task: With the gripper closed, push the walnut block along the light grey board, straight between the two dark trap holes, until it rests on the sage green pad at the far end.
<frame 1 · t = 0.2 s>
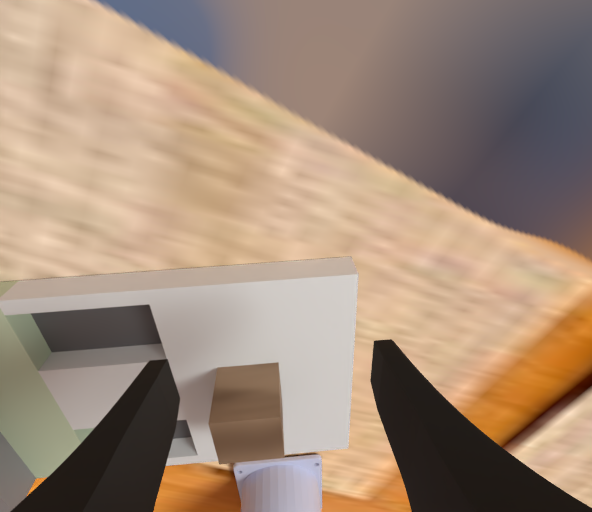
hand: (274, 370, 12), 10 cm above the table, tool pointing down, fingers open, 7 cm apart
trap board: (169, 370, 25), on the table
walnut block: (251, 385, 24), point 2 cm above the table, touching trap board
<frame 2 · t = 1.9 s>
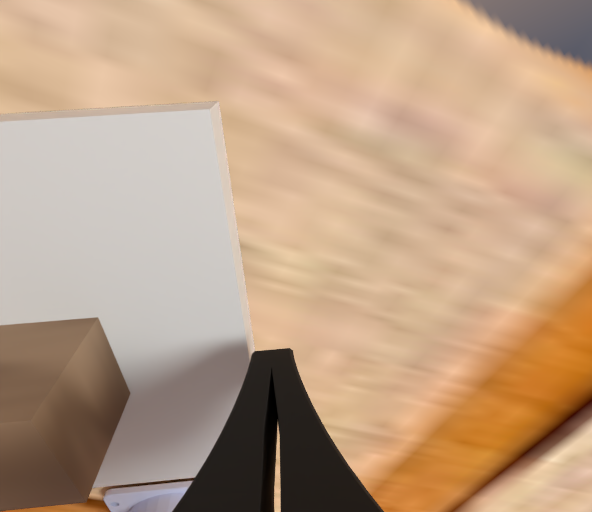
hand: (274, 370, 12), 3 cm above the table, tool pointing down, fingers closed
walnut block: (61, 362, 13), point 2 cm above the table, touching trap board
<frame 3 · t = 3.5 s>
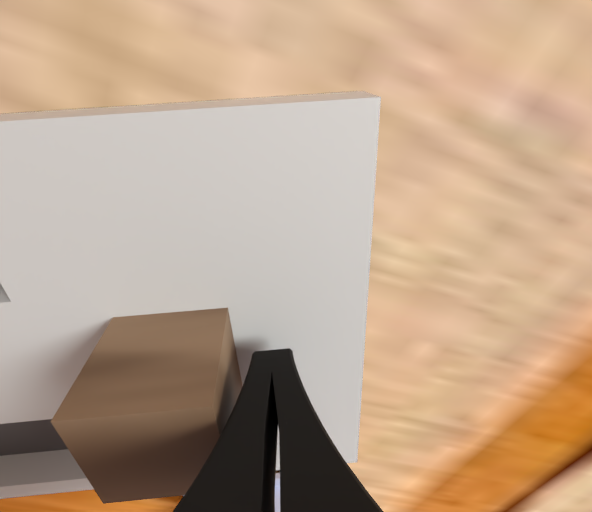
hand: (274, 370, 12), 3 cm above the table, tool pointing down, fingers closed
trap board: (49, 331, 15), on the table
walnut block: (182, 353, 13), point 2 cm above the table, touching gripper, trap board
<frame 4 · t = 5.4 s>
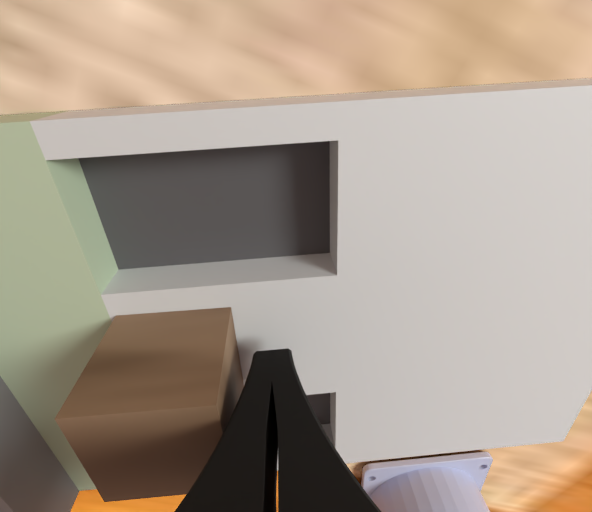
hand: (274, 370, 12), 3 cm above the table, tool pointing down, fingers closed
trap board: (305, 309, 15), on the table
walnut block: (185, 352, 13), point 2 cm above the table, touching gripper
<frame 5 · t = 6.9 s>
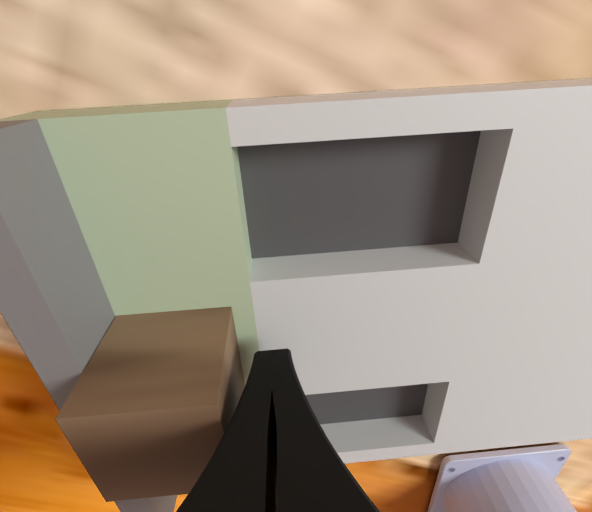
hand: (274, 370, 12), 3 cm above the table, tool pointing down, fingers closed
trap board: (418, 300, 15), on the table
walnut block: (185, 352, 13), point 2 cm above the table, touching gripper, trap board
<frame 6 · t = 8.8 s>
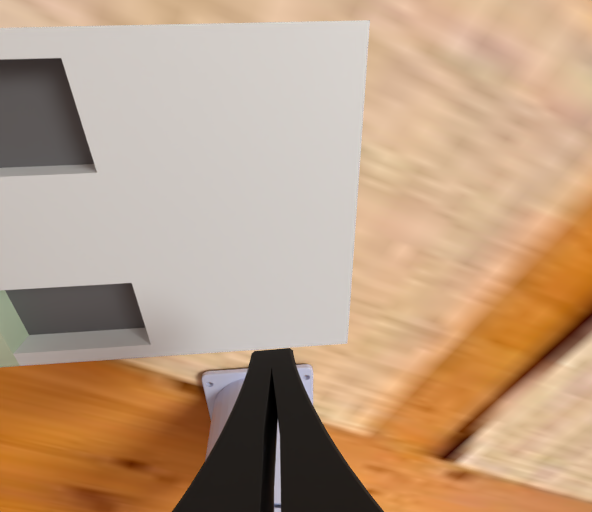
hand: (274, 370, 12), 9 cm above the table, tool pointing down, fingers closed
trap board: (110, 217, 19), on the table
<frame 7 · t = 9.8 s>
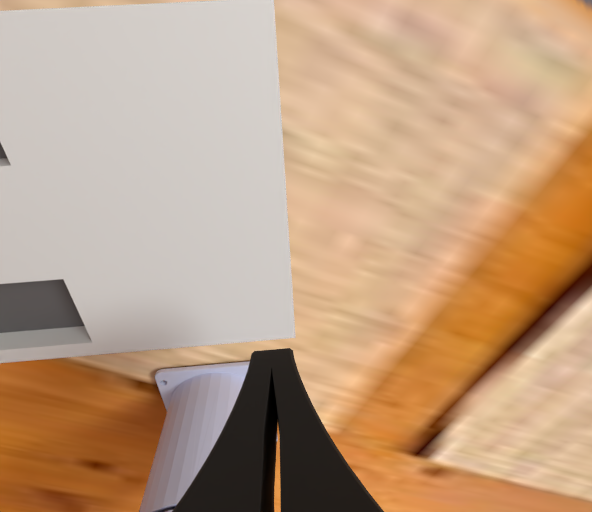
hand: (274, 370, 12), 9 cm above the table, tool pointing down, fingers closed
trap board: (41, 212, 18), on the table
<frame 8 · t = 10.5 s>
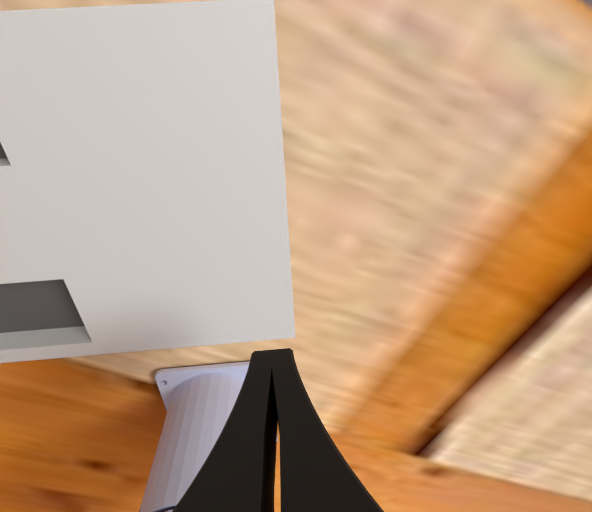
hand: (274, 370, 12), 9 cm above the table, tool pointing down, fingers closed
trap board: (41, 212, 18), on the table
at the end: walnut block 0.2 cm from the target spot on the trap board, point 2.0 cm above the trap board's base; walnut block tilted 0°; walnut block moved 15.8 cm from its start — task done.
